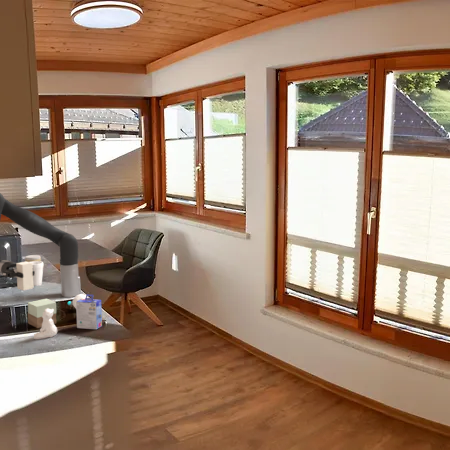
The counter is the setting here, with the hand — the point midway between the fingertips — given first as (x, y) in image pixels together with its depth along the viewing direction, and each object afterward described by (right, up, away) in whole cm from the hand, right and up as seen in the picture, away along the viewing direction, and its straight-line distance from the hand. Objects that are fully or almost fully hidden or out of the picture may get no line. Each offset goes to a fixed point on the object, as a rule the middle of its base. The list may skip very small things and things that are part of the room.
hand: (28, 274), depth 231 cm
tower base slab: (+7, -22, -2) cm, 23 cm away
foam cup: (-20, -12, +64) cm, 68 cm away
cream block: (-2, -7, +3) cm, 7 cm away
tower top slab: (+8, -17, -3) cm, 19 cm away
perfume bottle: (+18, -19, +18) cm, 32 cm away
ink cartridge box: (+30, -23, -7) cm, 39 cm away
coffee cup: (-30, -9, +87) cm, 92 cm away
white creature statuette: (+15, -24, -17) cm, 33 cm away
